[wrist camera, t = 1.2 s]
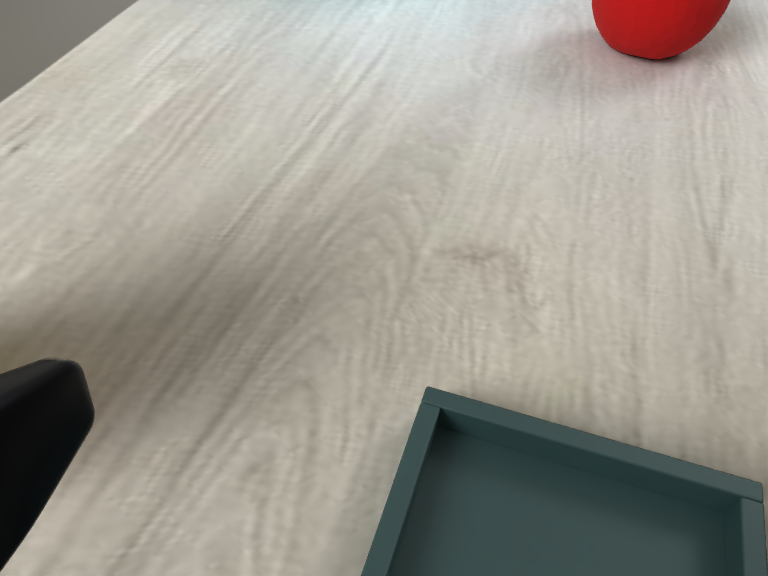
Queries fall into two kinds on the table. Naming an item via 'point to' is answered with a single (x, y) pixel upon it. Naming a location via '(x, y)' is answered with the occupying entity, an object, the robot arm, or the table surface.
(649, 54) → the fruit
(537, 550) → the bin
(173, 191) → the table surface
